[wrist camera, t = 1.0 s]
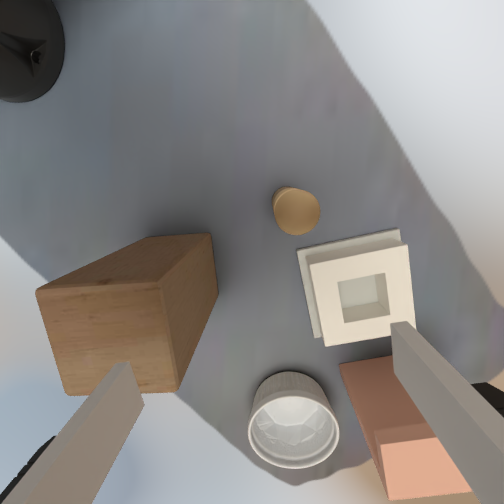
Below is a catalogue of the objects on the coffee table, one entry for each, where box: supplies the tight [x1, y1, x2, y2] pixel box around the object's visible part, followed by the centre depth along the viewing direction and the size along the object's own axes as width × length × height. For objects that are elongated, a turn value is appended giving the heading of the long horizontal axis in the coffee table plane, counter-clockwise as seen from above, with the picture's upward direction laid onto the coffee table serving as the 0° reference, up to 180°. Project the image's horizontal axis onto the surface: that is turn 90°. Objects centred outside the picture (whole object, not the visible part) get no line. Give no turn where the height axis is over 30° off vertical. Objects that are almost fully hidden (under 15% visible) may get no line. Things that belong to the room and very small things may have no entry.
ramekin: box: [248, 372, 339, 469], centre depth 43 cm, size 13×13×7 cm
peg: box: [272, 187, 320, 235], centre depth 31 cm, size 4×4×14 cm
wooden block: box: [35, 233, 218, 396], centre depth 31 cm, size 10×10×20 cm
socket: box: [296, 228, 416, 347], centre depth 38 cm, size 14×14×5 cm
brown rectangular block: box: [339, 355, 473, 501], centre depth 34 cm, size 7×12×18 cm, turn 103°
